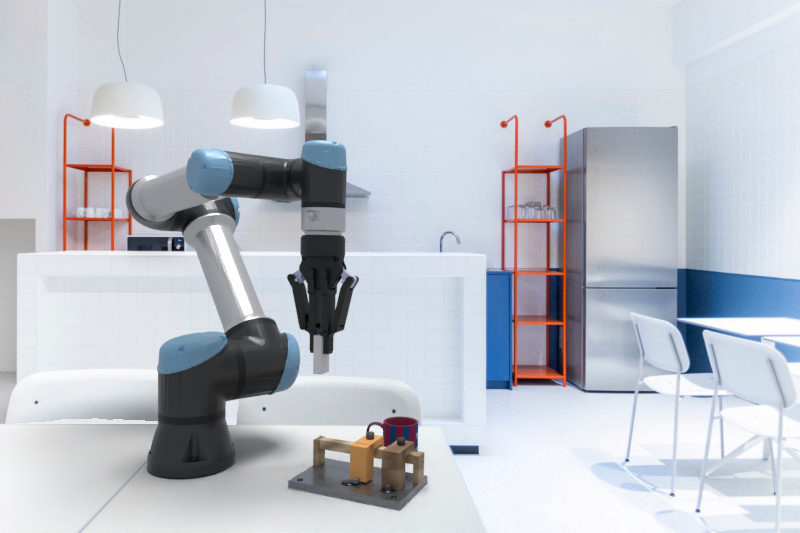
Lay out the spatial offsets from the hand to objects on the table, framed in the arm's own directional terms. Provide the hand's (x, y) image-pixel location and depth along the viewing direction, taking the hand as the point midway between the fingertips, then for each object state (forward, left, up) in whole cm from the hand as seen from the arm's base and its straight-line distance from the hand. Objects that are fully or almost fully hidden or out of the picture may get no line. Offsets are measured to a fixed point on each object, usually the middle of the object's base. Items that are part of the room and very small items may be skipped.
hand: (321, 372), depth 103 cm
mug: (+6, +17, -19) cm, 26 cm away
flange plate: (+7, +1, -18) cm, 20 cm away
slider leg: (+8, +2, -17) cm, 19 cm away
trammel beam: (+7, +2, -17) cm, 19 cm away
